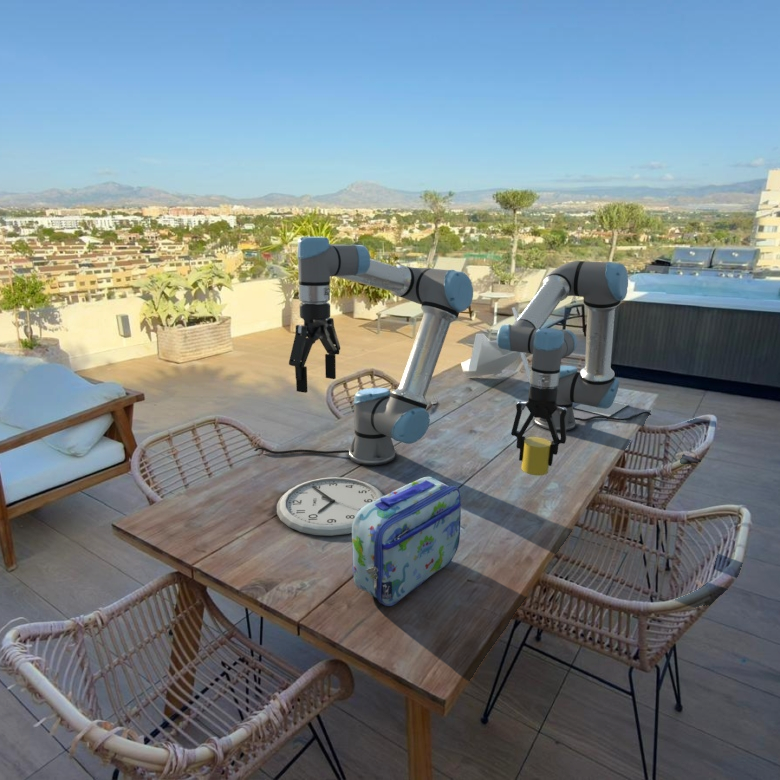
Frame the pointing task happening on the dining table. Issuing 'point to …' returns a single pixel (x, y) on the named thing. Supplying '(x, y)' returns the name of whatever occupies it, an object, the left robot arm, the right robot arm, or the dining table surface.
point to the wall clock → (325, 505)
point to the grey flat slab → (606, 412)
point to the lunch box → (405, 538)
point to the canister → (536, 456)
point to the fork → (432, 403)
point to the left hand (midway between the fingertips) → (316, 384)
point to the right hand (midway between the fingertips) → (535, 461)
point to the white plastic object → (491, 357)
